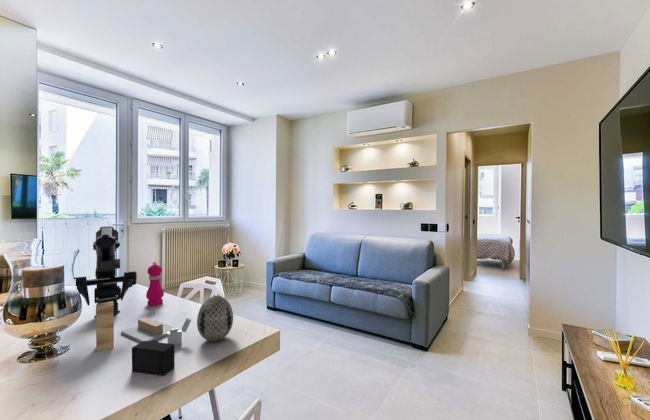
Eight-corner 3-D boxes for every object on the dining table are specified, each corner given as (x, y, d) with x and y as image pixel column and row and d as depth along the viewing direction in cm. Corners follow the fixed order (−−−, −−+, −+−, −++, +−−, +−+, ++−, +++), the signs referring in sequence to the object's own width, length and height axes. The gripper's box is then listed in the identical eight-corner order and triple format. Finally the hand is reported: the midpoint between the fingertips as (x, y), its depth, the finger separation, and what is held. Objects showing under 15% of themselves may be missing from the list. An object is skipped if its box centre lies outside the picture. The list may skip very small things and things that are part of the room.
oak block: (97, 346, 97) (96, 303, 97) (113, 342, 100) (113, 301, 99) (96, 351, 93) (95, 307, 93) (113, 347, 96) (113, 304, 96)
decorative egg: (189, 344, 98) (188, 299, 98) (214, 330, 109) (214, 290, 109) (217, 350, 94) (216, 303, 94) (240, 335, 105) (240, 293, 105)
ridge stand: (121, 333, 106) (121, 322, 106) (154, 322, 116) (154, 312, 116) (144, 344, 98) (144, 332, 98) (178, 331, 108) (178, 320, 108)
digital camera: (178, 365, 85) (177, 341, 85) (164, 376, 80) (164, 350, 80) (147, 361, 87) (147, 338, 87) (131, 372, 82) (131, 347, 82)
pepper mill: (167, 301, 142) (166, 260, 142) (157, 306, 135) (156, 263, 134) (153, 301, 143) (152, 260, 142) (142, 306, 135) (142, 263, 135)
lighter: (167, 347, 96) (167, 322, 96) (167, 344, 98) (167, 320, 98) (191, 342, 100) (191, 318, 100) (190, 340, 101) (190, 317, 101)
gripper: (71, 254, 101) (67, 294, 92) (136, 249, 111) (138, 285, 103) (74, 273, 107) (70, 312, 98) (135, 267, 118) (137, 301, 109)
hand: (105, 302), depth 102 cm, fingers open, 9 cm apart
